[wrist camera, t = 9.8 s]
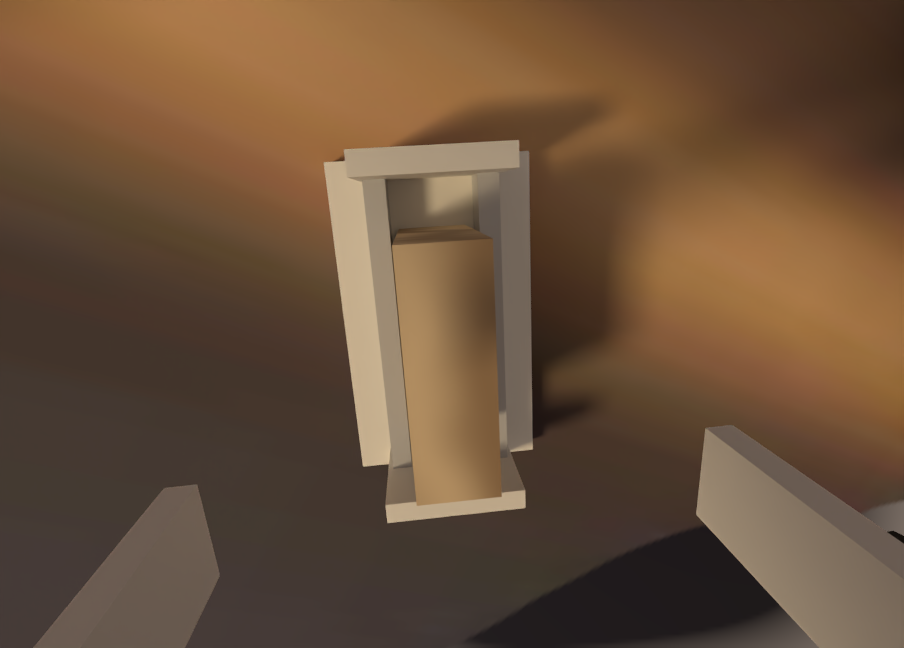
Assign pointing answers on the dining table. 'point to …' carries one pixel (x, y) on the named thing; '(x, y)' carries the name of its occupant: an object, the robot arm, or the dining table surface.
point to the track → (375, 300)
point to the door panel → (449, 361)
